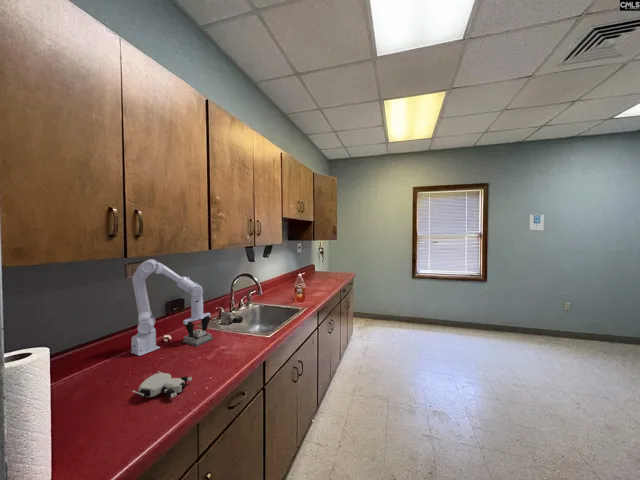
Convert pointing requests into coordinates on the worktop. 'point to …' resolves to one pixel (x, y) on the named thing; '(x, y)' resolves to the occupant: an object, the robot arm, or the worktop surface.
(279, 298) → the worktop surface
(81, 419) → the worktop surface
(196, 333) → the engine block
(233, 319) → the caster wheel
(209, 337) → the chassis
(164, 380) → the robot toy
